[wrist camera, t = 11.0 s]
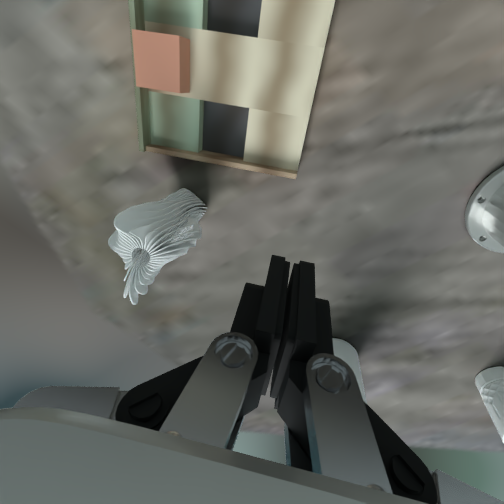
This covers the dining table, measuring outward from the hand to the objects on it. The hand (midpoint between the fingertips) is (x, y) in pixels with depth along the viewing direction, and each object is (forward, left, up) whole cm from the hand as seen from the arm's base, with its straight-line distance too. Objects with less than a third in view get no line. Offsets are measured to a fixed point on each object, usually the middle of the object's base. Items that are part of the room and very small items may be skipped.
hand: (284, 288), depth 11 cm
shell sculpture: (+15, +11, -29) cm, 35 cm away
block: (+17, -7, -27) cm, 33 cm away
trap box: (+10, -7, -29) cm, 32 cm away
